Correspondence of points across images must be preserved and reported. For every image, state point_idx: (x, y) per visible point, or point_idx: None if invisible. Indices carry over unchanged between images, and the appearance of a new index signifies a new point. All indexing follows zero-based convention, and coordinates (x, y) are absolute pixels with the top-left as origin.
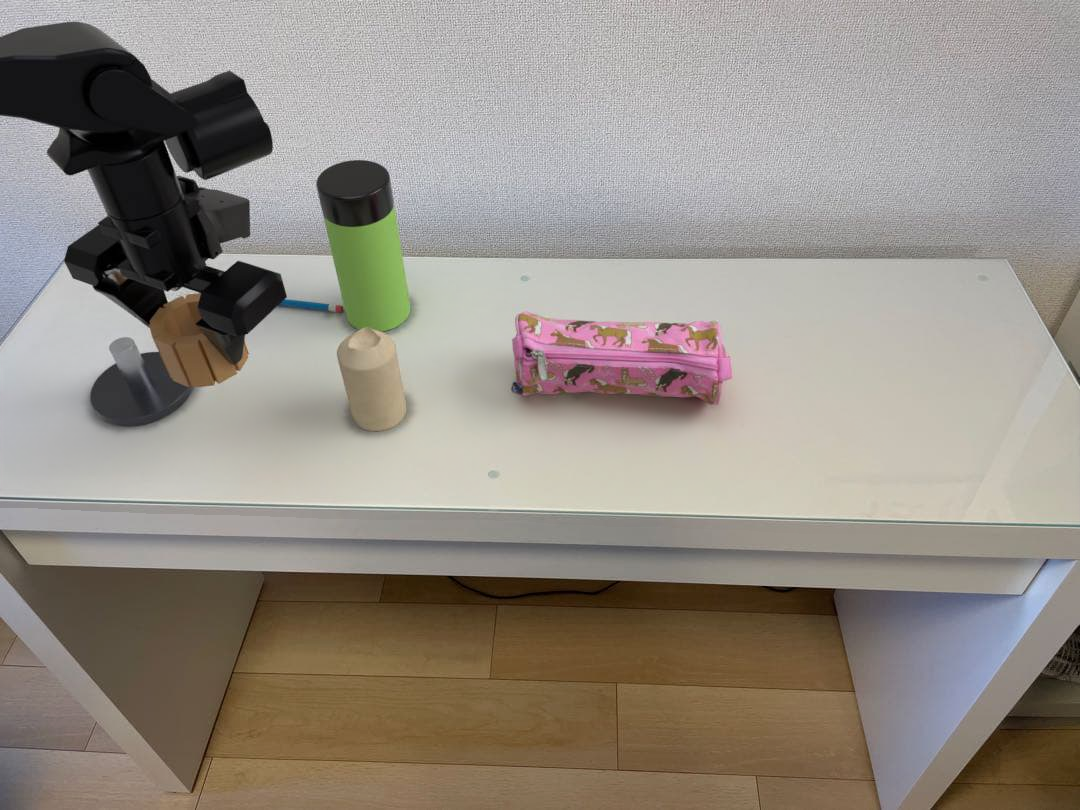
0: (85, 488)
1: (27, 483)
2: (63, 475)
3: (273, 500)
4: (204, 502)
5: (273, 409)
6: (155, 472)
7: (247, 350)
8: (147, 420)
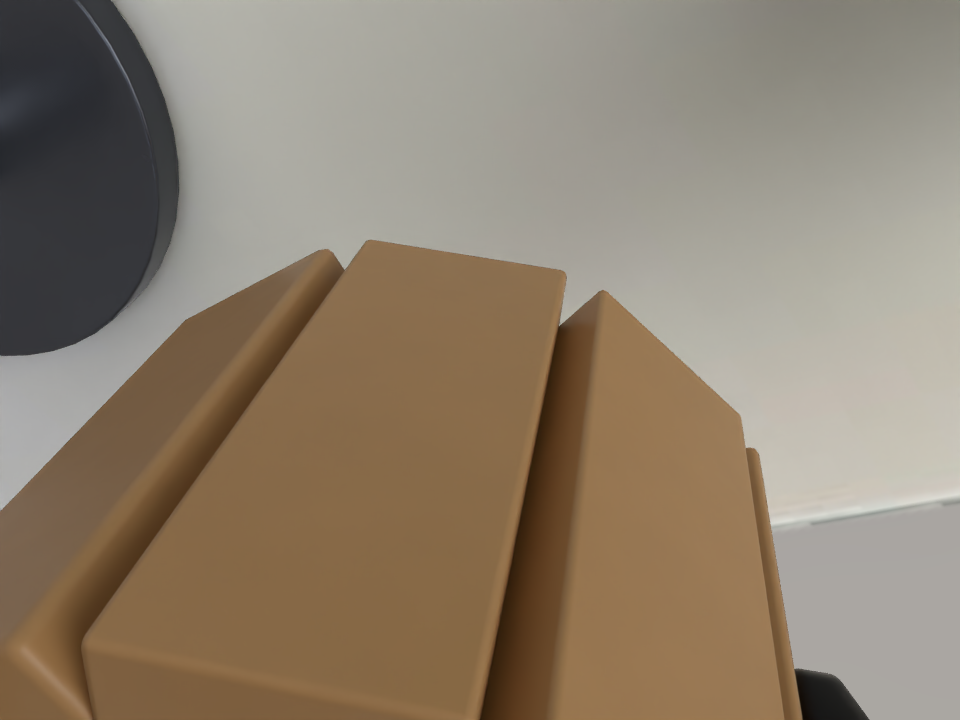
0: None
1: None
2: None
3: (897, 493)
4: None
5: (630, 18)
6: None
7: (744, 446)
8: (132, 300)
